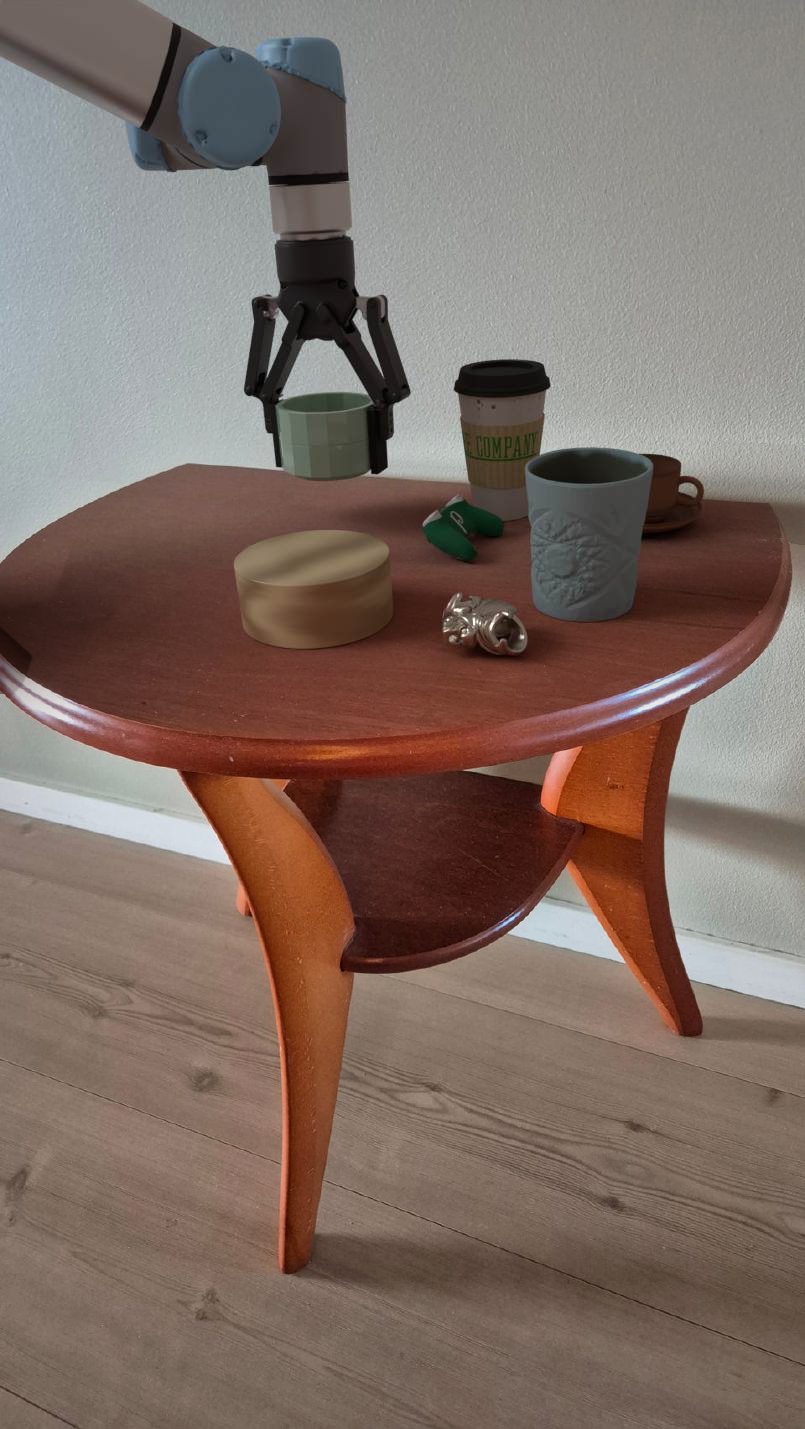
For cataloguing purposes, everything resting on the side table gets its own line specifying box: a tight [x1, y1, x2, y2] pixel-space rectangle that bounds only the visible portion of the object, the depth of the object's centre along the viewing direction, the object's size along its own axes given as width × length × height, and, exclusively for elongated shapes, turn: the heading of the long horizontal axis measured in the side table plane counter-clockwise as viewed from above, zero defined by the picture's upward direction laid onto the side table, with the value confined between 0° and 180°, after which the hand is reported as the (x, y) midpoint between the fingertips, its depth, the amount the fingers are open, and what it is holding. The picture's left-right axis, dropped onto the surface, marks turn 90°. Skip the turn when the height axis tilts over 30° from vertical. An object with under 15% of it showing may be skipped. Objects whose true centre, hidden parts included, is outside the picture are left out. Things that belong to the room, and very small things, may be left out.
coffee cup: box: [453, 358, 552, 522], centre depth 103 cm, size 10×10×15 cm
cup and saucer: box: [639, 453, 705, 534], centre depth 100 cm, size 12×12×6 cm
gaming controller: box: [421, 492, 505, 563], centre depth 98 cm, size 9×4×6 cm
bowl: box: [276, 391, 375, 482], centre depth 103 cm, size 10×10×7 cm
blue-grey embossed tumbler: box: [525, 446, 653, 623], centre depth 82 cm, size 10×10×12 cm
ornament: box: [441, 592, 529, 657], centre depth 78 cm, size 8×7×4 cm
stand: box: [233, 529, 394, 650], centre depth 84 cm, size 13×13×6 cm
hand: (331, 467), depth 105 cm, fingers closed on bowl, 10 cm apart
